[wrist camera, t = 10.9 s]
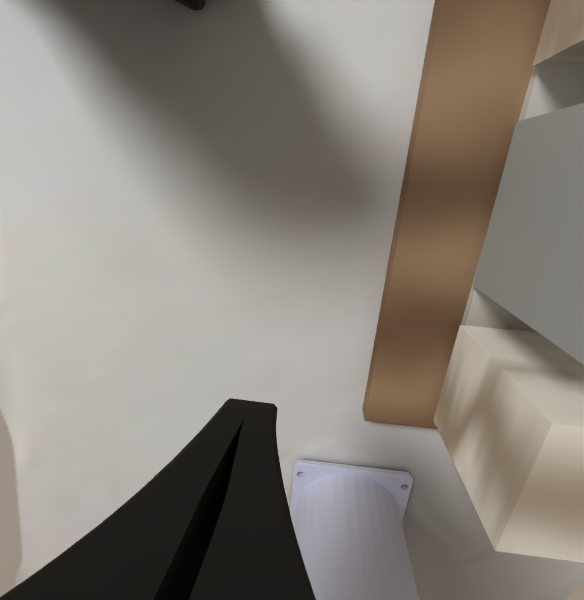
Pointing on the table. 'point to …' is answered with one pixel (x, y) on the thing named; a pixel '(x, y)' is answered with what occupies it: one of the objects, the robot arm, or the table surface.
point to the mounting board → (461, 273)
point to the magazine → (193, 4)
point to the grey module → (541, 230)
